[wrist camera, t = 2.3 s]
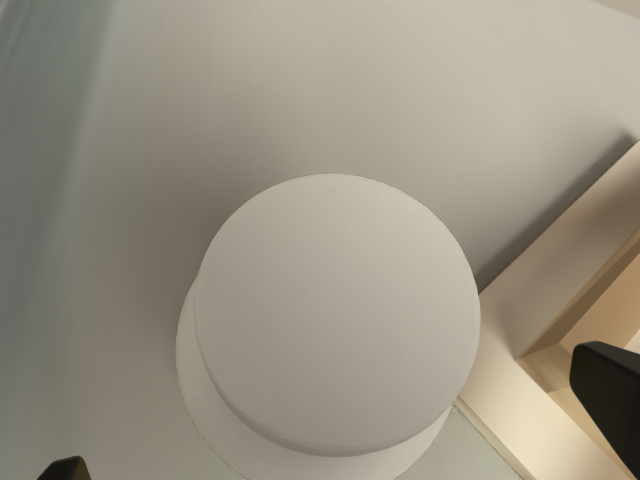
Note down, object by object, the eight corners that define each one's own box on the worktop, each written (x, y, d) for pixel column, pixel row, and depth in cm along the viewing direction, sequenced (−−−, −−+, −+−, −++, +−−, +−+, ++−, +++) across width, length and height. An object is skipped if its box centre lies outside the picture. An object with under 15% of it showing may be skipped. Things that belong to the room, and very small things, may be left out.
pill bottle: (271, 276, 20) (283, 79, 10) (409, 359, 19) (580, 241, 9) (173, 419, 17) (48, 357, 7) (327, 522, 16) (434, 617, 6)
